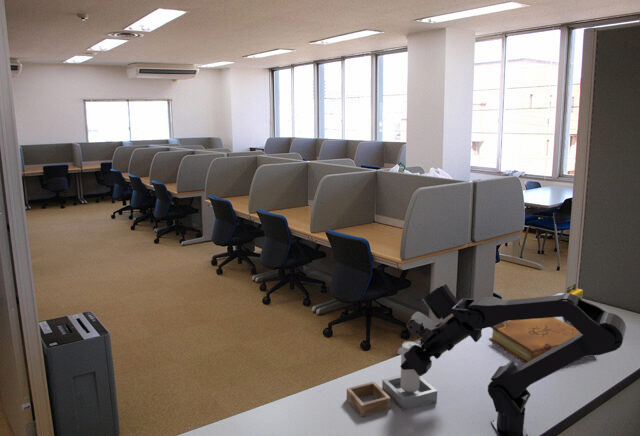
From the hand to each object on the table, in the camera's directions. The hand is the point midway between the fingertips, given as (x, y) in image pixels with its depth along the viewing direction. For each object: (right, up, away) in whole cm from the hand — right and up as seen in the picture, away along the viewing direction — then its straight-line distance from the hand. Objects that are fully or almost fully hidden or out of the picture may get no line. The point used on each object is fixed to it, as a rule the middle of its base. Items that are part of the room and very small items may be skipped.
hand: (405, 363), depth 127 cm
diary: (+46, -3, +27) cm, 53 cm away
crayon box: (+66, +2, +47) cm, 81 cm away
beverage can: (+1, -7, +1) cm, 7 cm away
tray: (+1, -9, +1) cm, 9 cm away
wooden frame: (-10, -10, -2) cm, 14 cm away
